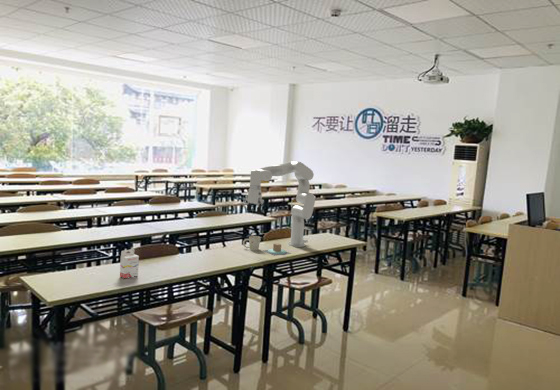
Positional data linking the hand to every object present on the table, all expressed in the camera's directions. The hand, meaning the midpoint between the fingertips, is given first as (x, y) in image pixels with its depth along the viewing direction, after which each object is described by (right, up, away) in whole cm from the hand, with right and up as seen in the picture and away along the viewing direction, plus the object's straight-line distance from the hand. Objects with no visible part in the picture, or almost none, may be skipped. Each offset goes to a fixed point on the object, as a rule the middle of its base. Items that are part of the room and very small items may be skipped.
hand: (253, 211), depth 317 cm
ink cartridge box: (-64, -34, -72) cm, 102 cm away
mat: (+17, -30, +1) cm, 34 cm away
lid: (+17, -29, +1) cm, 33 cm away
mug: (-2, -29, +5) cm, 29 cm away
